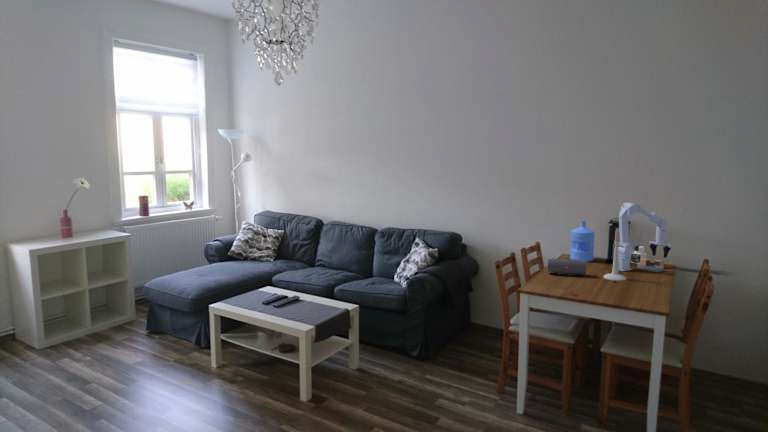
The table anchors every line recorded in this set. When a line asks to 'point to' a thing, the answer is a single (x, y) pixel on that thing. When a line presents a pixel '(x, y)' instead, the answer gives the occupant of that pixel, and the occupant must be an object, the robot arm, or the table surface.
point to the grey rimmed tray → (649, 266)
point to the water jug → (582, 243)
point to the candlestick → (615, 263)
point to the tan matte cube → (659, 263)
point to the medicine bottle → (638, 254)
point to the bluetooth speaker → (567, 266)
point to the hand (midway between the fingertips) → (659, 256)
